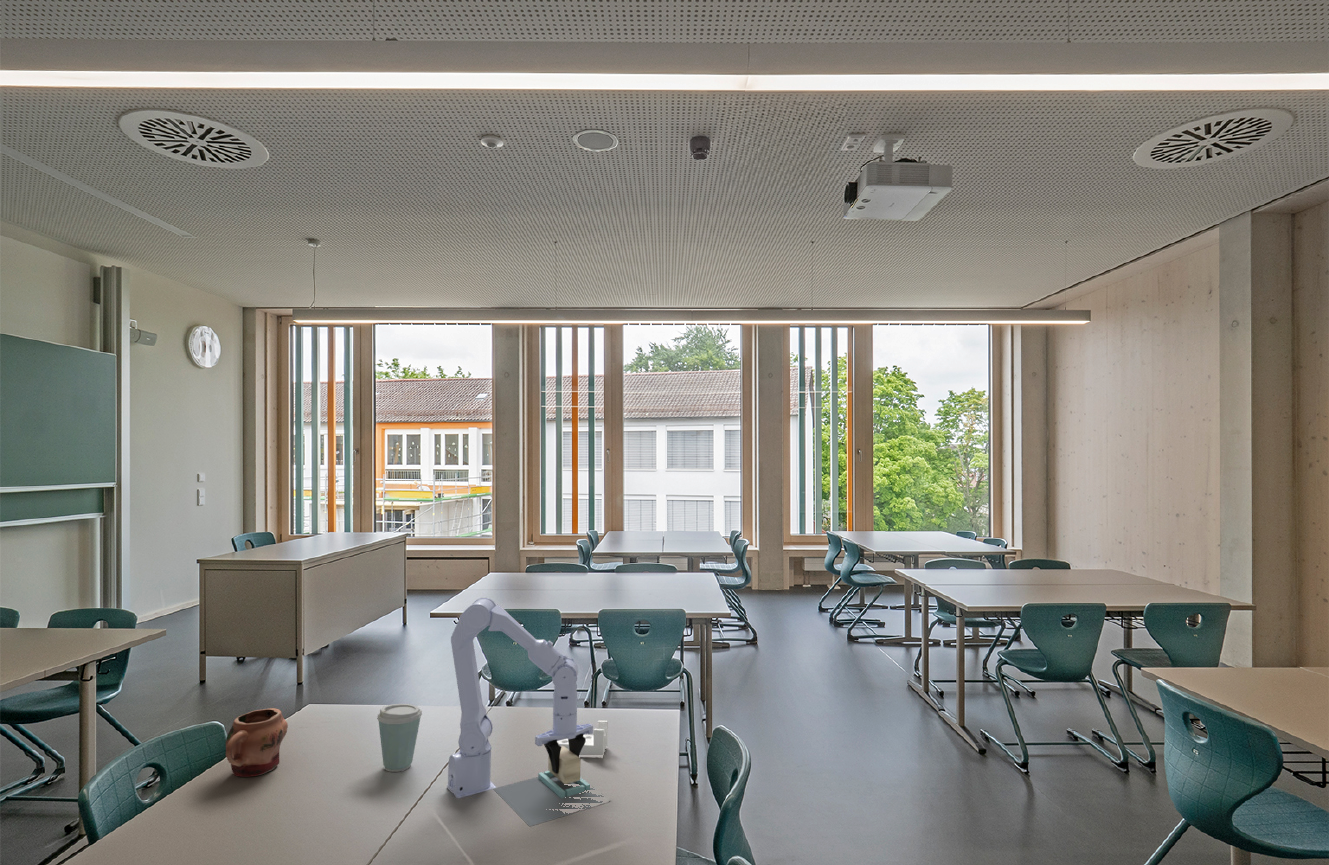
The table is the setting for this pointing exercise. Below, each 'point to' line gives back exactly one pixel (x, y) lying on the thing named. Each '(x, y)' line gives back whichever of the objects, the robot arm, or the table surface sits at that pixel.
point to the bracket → (592, 740)
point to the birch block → (567, 766)
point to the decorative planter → (255, 742)
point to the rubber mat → (540, 800)
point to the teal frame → (559, 791)
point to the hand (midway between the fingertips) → (564, 769)
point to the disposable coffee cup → (398, 735)
